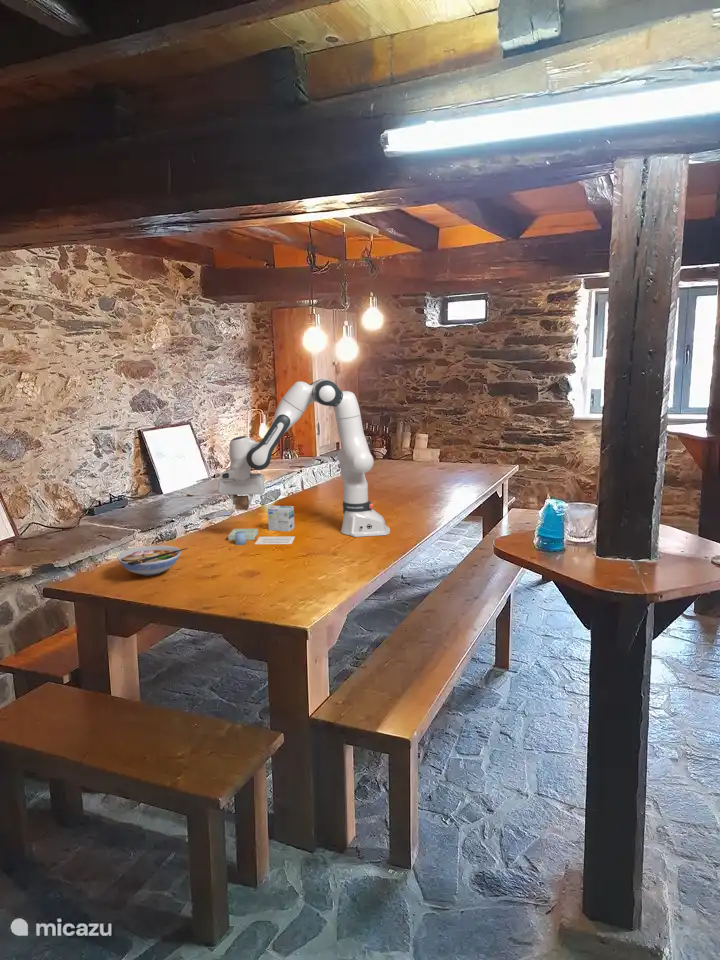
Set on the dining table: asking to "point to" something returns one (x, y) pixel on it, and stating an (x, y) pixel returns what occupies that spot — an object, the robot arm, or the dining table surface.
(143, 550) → the ramen bowl
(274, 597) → the dining table surface
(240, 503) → the walnut block
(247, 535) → the tray
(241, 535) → the blue cylinder
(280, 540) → the letter
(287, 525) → the light bulb box
